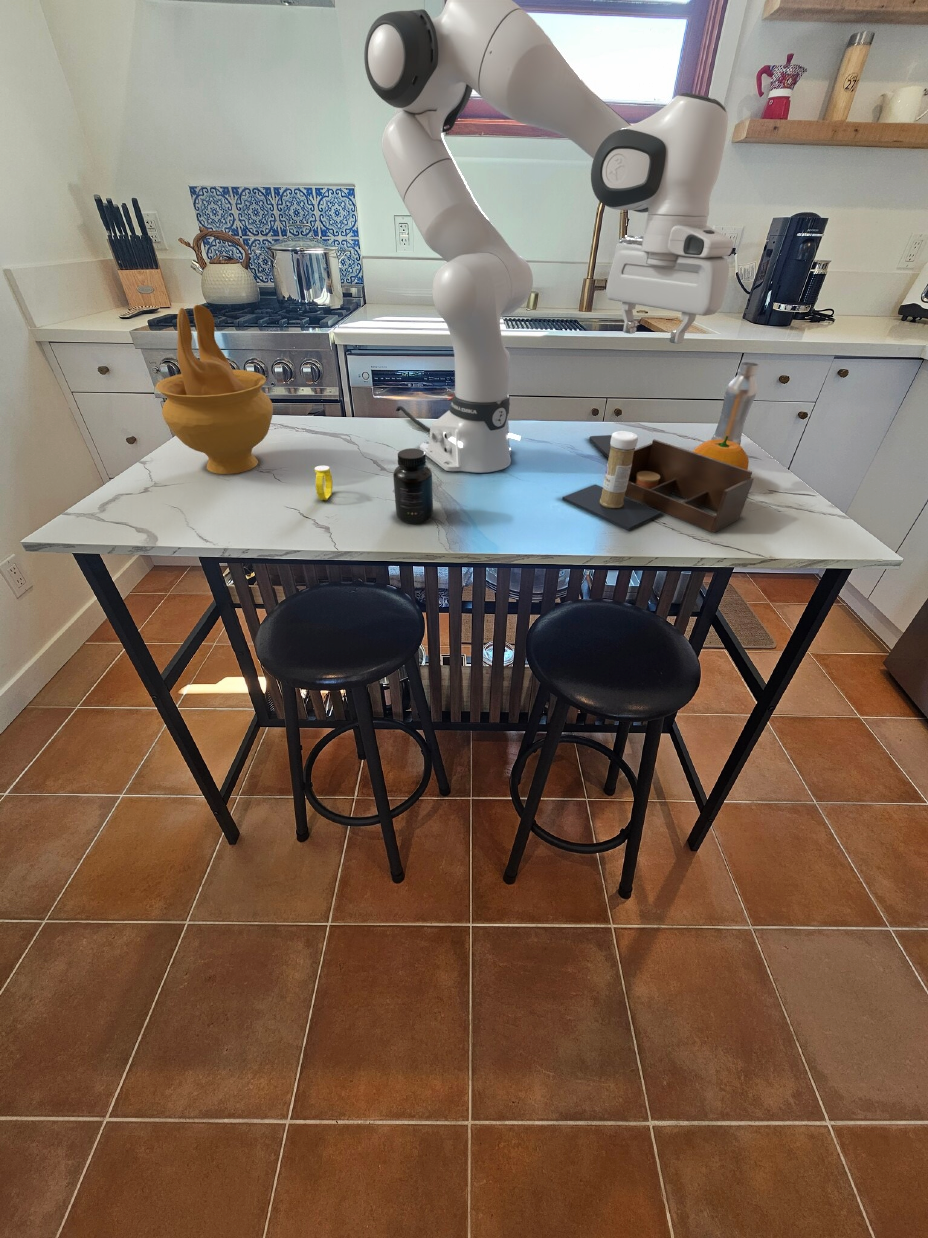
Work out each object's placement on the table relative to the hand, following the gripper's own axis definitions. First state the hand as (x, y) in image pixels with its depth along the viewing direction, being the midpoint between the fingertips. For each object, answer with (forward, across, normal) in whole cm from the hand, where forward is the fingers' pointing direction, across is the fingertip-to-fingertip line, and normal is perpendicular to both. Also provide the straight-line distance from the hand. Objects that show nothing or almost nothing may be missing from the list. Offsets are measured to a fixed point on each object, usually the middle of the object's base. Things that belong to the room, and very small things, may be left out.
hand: (651, 337), depth 93 cm
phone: (+29, -16, +19) cm, 38 cm away
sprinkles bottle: (+28, +3, -6) cm, 29 cm away
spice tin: (+28, +3, +5) cm, 29 cm away
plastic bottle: (+29, +2, +36) cm, 46 cm away
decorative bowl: (+29, -61, -56) cm, 87 cm away
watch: (+29, -34, -48) cm, 65 cm away
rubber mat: (+28, +3, -6) cm, 29 cm away
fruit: (+29, +9, +20) cm, 36 cm away
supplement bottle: (+29, -17, -38) cm, 51 cm away
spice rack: (+28, +10, +5) cm, 30 cm away
